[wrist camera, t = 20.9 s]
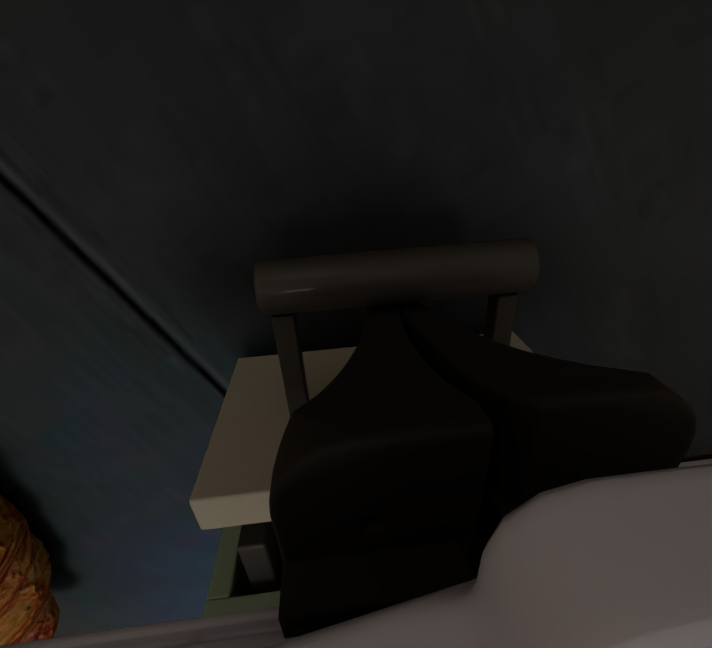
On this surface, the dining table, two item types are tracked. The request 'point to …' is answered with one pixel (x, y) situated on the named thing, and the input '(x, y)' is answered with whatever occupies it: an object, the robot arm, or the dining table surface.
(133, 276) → the dining table surface
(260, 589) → the cream drawer
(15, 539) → the croissant
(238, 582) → the green drawer box
